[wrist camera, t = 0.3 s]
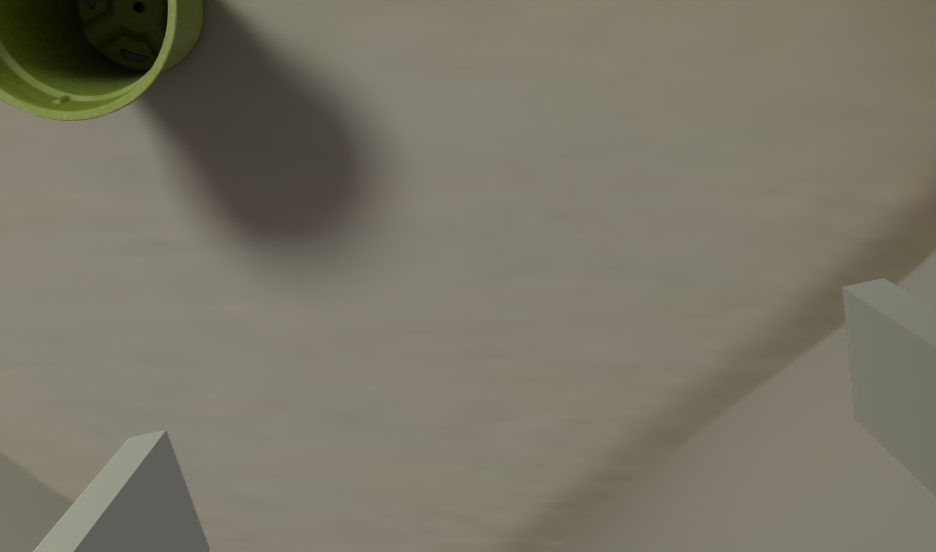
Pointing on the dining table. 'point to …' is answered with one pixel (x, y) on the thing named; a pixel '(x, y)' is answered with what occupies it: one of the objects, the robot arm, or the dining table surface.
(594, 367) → the dining table surface
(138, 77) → the plant pot
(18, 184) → the dining table surface
